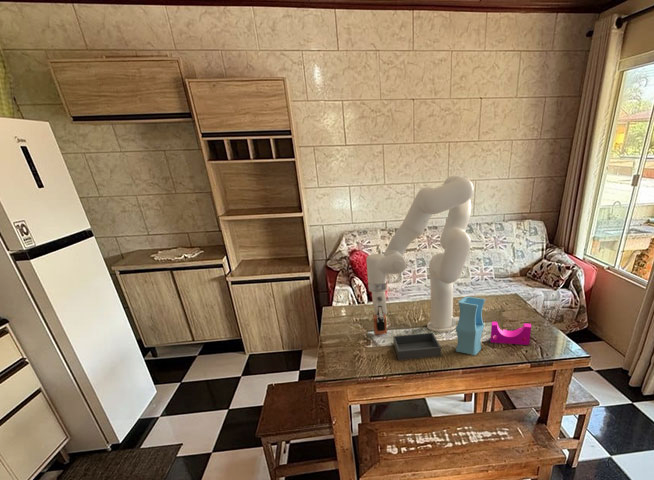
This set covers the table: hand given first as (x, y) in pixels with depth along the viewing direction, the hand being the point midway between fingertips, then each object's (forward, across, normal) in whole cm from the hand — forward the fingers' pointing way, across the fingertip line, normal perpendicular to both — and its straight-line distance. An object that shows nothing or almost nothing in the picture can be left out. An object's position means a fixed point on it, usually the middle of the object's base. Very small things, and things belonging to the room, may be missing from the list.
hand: (380, 327), depth 173 cm
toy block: (+3, -18, -51) cm, 54 cm away
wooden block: (+2, 0, 0) cm, 2 cm away
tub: (+3, -19, -12) cm, 23 cm away
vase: (+3, -23, -32) cm, 40 cm away
